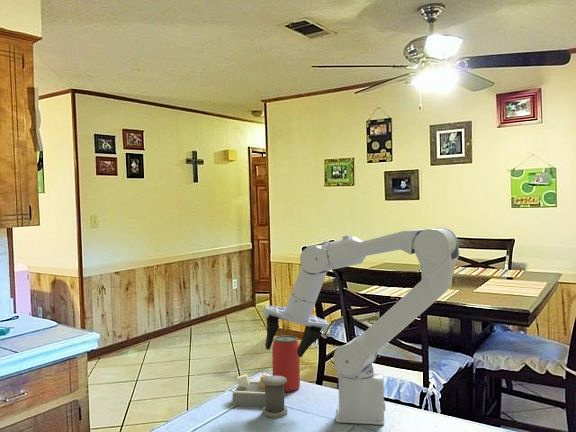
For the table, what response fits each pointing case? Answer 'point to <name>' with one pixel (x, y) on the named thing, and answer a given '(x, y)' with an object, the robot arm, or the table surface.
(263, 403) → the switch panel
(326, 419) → the table surface
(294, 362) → the beer can
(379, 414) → the robot arm
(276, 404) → the cord spool
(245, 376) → the cream cube
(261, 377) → the orange cube
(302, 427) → the table surface
